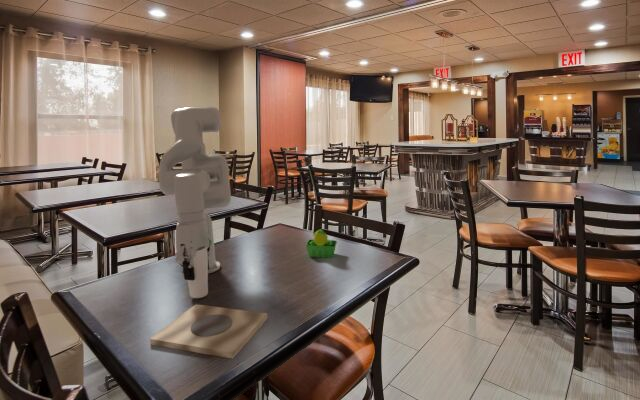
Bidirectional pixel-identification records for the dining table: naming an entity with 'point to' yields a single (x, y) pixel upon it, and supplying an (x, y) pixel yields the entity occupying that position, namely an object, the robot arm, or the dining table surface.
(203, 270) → the drinking glass
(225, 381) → the dining table surface
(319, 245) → the fruit basket
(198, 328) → the serving board
